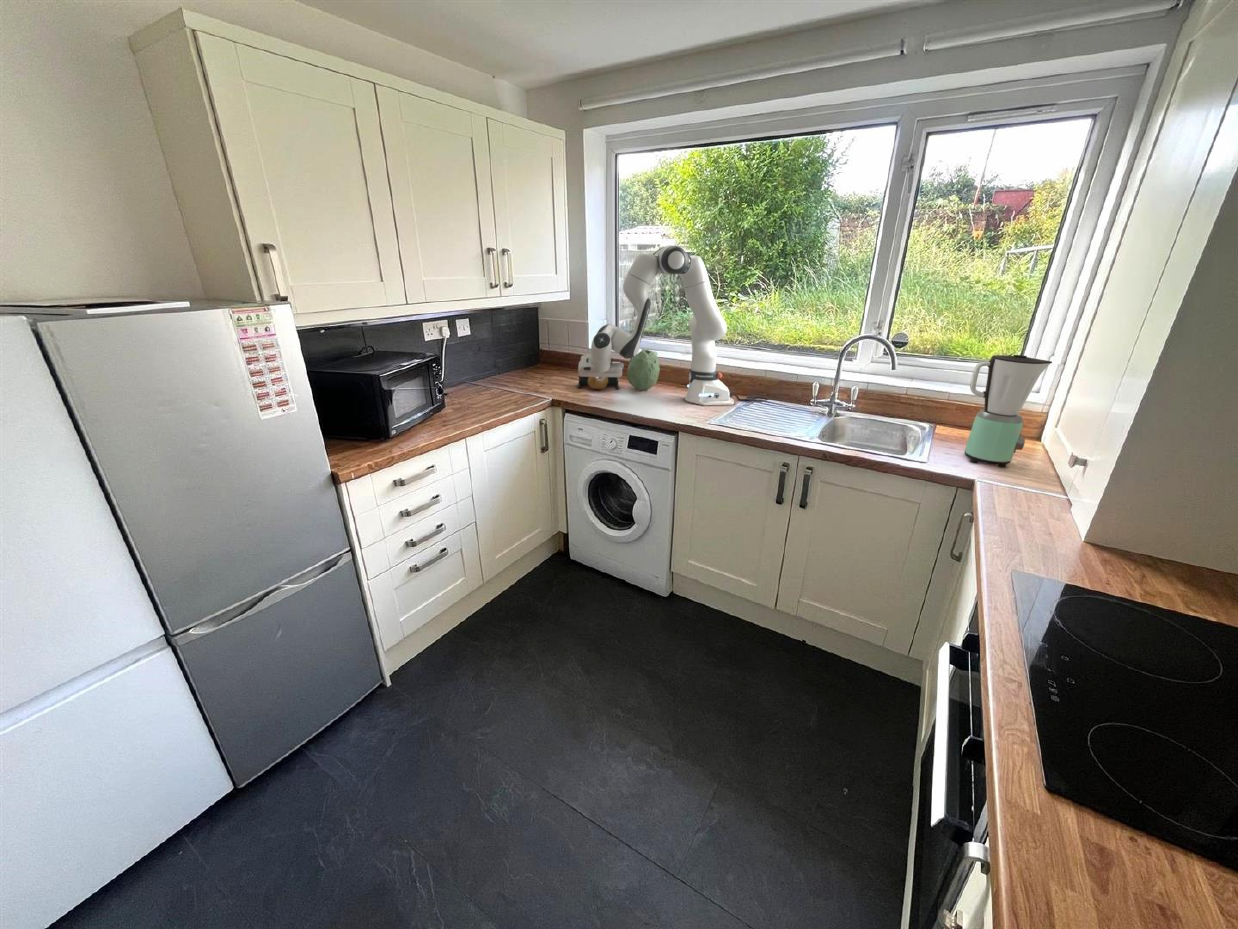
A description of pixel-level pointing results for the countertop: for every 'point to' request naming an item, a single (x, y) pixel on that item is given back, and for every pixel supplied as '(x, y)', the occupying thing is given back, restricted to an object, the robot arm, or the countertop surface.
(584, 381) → the shoe shelf
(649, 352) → the green rounded bumpy piece
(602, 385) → the potato
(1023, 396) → the green blender
